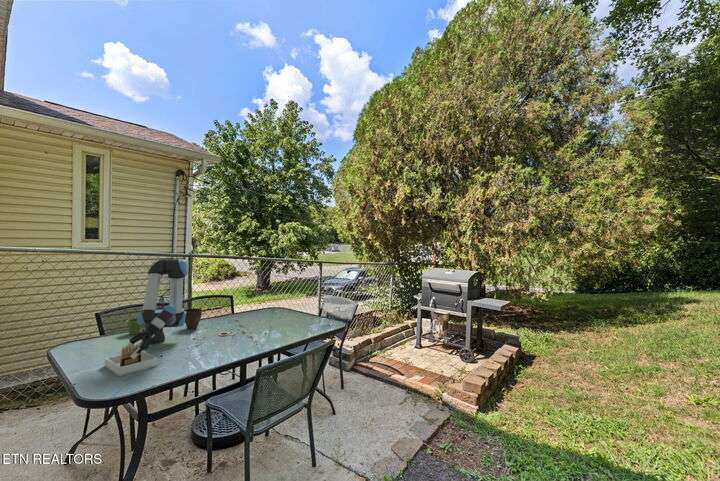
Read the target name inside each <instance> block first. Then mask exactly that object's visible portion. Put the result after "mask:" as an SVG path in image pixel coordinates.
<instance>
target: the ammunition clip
mask: <svg viewBox="0 0 720 481" xmlns="http://www.w3.org/2000/svg"><path fill="white" fill-rule="evenodd" d="M135 344H136V345H135ZM135 344H134V345H135V346H134V345H133V346H132V347H131V346H129V350H128V348H127V347H126V349H125V353H124V348H125V346H122V349H121V351H122V352H121V354H120V355H121V361H120V367H122V366H126V365H130V364H134V363H138V362H141V353H140V354H139V355H138V356H137V357H136V358H135V359H133V358H131V357H130V356H131V355H132V354H133V353H134V351H136V350H137V349H138V348H139V347H140V346H141V345H142V343H139V345H138V344H137V343H135Z"/></svg>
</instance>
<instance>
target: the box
mask: <svg viewBox="0 0 720 481" xmlns="http://www.w3.org/2000/svg"><path fill="white" fill-rule="evenodd" d="M134 352H135V350H134ZM120 361H121V354H117V355H113V356H109V357H104V363H103V365H104V367H105V368H106V369H108V370H109V371H110V372H112V373H113V374H114V375H116V376H118V377H123V376H126V375H129V374H133V373H136V372H141V371H144V370H147V369H152V368H154V367H155V368H156V367H157V366H158V357H156V356H154V355H153V354H151V353H149V352H147V351H145V350H142V352H141V362H138V363H134V364H130V365H126V366H122V367H120Z"/></svg>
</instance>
